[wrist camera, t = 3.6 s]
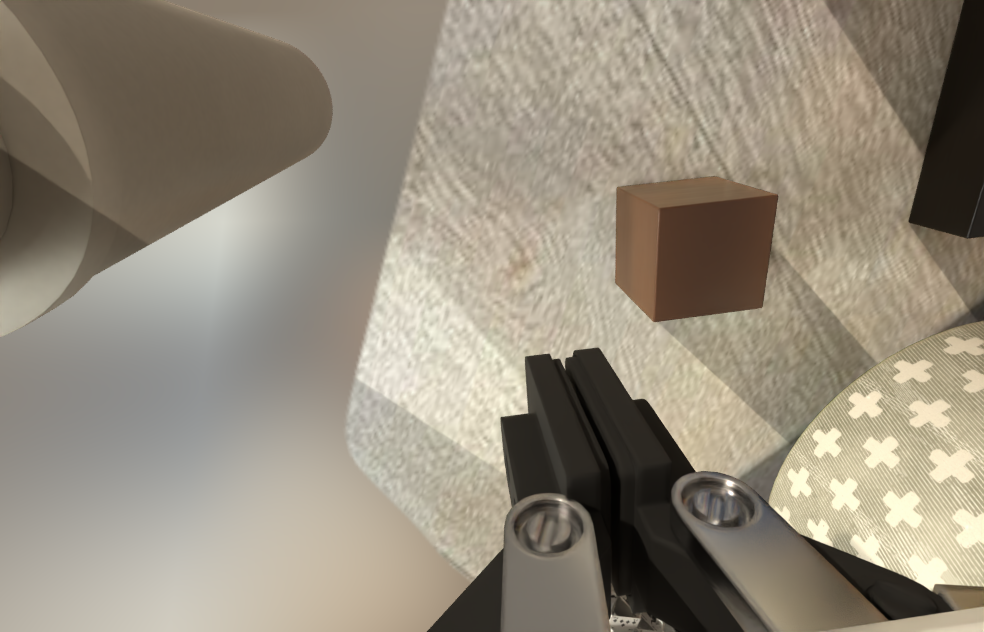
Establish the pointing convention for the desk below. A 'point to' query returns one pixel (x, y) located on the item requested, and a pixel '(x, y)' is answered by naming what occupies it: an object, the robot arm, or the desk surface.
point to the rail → (957, 139)
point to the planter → (899, 464)
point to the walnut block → (693, 246)
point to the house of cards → (630, 617)
